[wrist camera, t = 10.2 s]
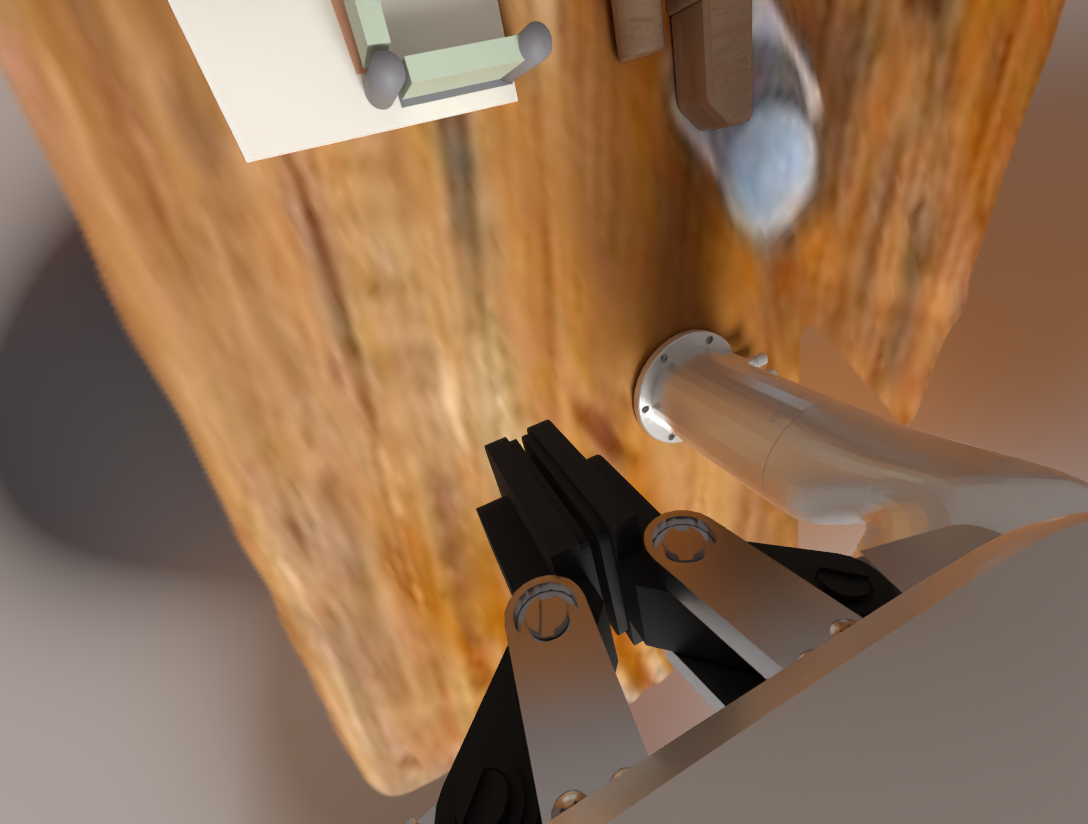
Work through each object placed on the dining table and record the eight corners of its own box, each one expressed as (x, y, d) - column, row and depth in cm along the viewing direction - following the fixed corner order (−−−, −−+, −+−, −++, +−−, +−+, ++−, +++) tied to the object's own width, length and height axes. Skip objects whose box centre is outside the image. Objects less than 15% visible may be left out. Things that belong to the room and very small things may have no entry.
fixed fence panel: (514, 48, 30) (548, 18, 25) (520, 81, 31) (554, 58, 26) (359, 79, 28) (363, 53, 23) (371, 113, 29) (377, 95, 24)
